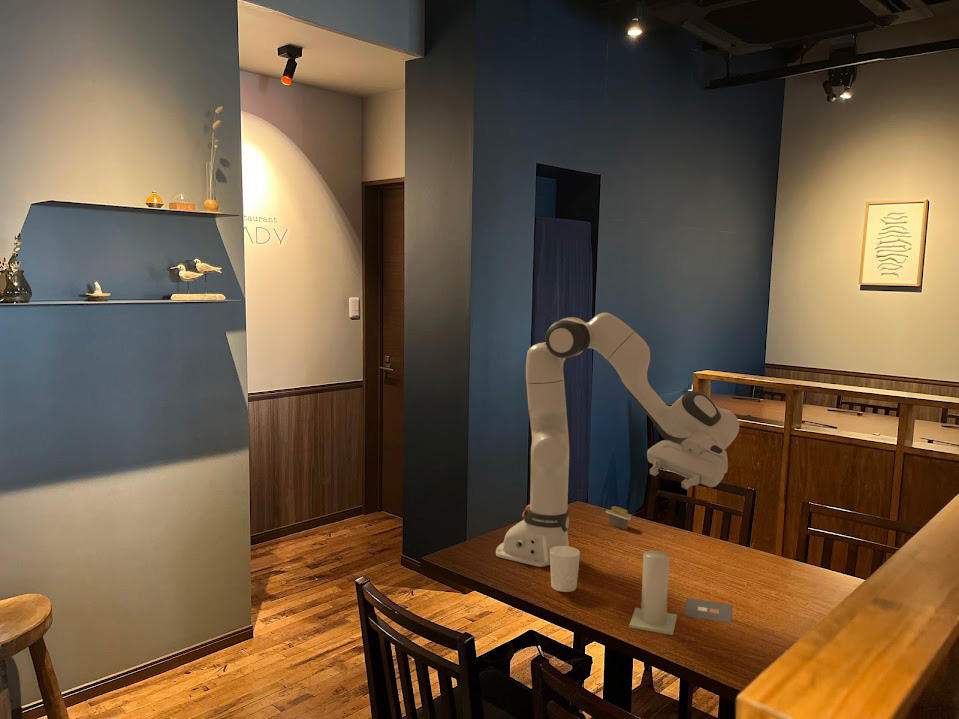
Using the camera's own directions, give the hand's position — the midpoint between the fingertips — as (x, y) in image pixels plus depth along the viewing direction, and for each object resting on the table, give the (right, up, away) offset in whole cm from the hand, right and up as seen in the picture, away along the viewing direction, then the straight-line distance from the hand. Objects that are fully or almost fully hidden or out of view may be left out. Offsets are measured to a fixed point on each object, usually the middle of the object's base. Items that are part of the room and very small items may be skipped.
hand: (667, 479), depth 183 cm
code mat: (+9, -32, -3) cm, 34 cm away
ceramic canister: (-6, -32, -10) cm, 34 cm away
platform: (0, -27, +60) cm, 66 cm away
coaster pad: (-6, -33, -10) cm, 35 cm away
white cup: (-25, -31, +10) cm, 41 cm away
